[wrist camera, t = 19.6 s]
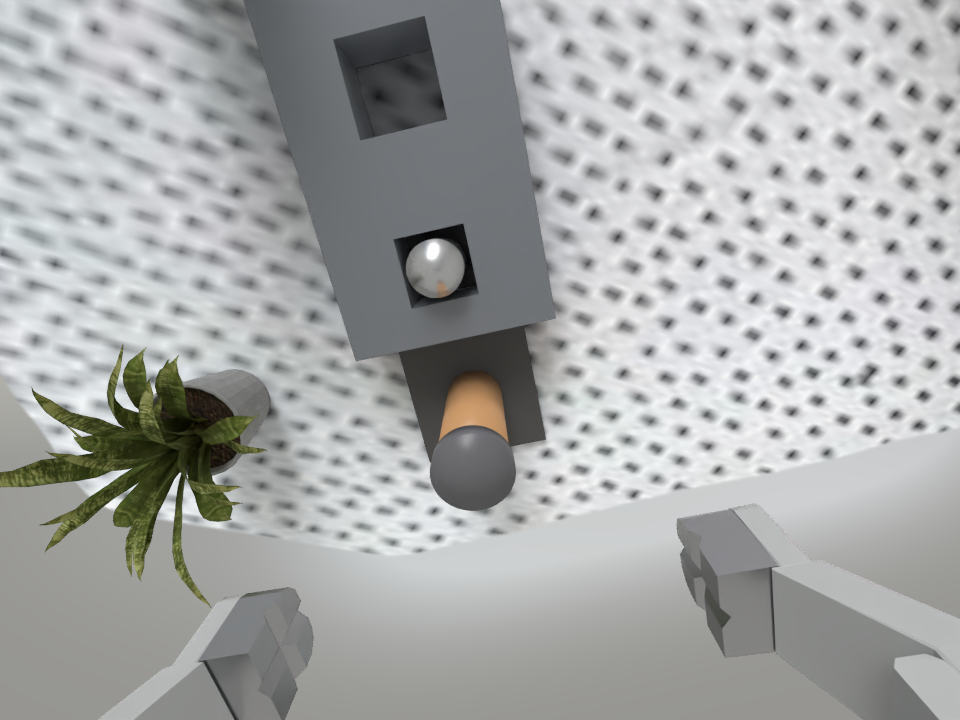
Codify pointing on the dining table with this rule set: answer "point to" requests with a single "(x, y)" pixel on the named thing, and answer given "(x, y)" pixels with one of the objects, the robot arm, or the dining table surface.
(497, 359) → the mat
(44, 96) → the dining table surface
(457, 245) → the plunger
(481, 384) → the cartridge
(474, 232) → the housing
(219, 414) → the house plant
